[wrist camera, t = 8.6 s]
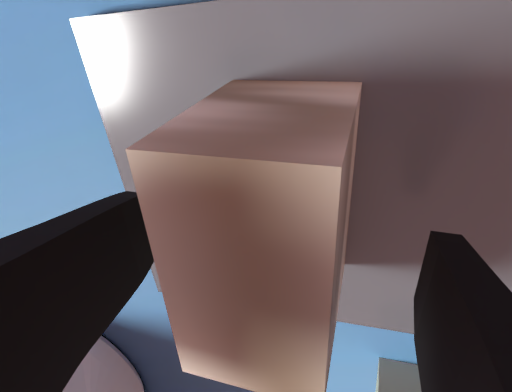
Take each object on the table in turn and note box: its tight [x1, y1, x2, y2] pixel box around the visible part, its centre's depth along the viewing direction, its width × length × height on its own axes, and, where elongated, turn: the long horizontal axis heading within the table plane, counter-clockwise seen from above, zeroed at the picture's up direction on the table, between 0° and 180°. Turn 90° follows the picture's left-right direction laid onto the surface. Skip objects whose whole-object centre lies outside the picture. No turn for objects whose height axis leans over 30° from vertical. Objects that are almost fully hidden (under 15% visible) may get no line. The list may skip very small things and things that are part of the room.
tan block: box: [125, 80, 362, 392], centre depth 9 cm, size 4×6×5 cm, turn 3°
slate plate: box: [69, 0, 512, 334], centre depth 11 cm, size 13×11×1 cm
